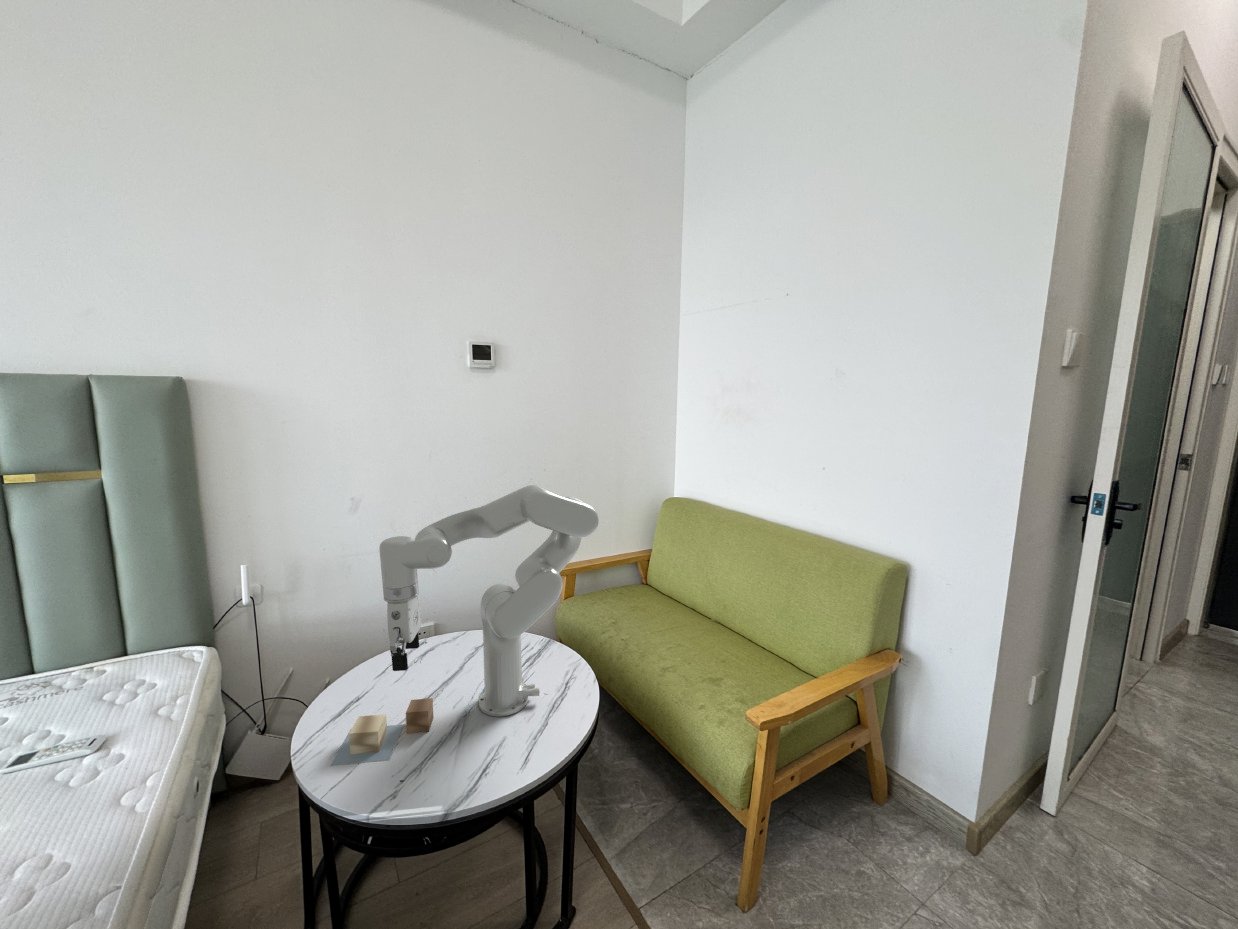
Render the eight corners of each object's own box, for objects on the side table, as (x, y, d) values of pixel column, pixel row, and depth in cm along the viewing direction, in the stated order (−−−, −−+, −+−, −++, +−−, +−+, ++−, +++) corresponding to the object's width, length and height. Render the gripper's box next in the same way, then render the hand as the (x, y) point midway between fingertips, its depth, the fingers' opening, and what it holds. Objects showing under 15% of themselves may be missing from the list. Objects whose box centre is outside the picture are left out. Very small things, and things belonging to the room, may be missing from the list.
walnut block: (433, 720, 124) (432, 698, 123) (429, 734, 119) (428, 711, 118) (412, 722, 123) (411, 699, 122) (407, 736, 118) (405, 712, 117)
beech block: (387, 733, 118) (386, 714, 117) (379, 751, 112) (377, 731, 111) (360, 736, 117) (358, 716, 116) (350, 754, 111) (348, 733, 111)
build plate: (404, 726, 121) (404, 724, 121) (389, 762, 110) (389, 760, 110) (351, 731, 120) (351, 728, 120) (330, 768, 108) (330, 765, 108)
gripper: (407, 605, 109) (413, 678, 111) (427, 575, 125) (431, 639, 128) (370, 607, 108) (377, 681, 110) (395, 577, 125) (401, 641, 127)
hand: (406, 658), depth 119 cm, fingers open, 9 cm apart
